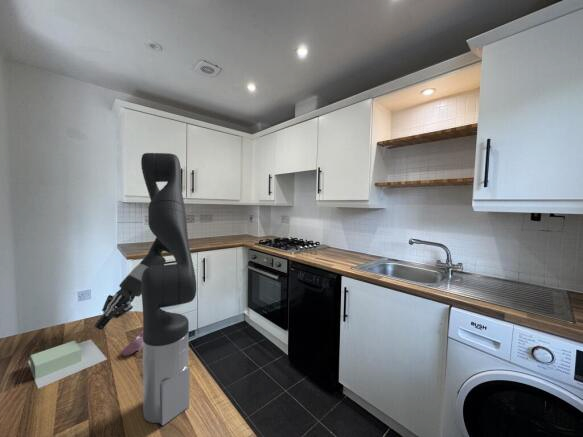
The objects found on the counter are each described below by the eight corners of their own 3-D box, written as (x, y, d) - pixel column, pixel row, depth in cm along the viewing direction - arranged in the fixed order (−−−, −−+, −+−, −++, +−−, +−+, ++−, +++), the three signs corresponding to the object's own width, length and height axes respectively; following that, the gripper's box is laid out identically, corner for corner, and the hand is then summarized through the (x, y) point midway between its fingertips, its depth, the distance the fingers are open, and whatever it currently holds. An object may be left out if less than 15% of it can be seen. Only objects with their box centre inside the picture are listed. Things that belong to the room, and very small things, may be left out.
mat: (107, 360, 69) (107, 359, 69) (37, 389, 58) (37, 388, 58) (90, 340, 78) (90, 339, 78) (27, 362, 67) (27, 361, 67)
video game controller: (132, 362, 71) (142, 343, 70) (119, 355, 71) (129, 335, 70) (152, 343, 80) (161, 325, 80) (140, 336, 80) (149, 319, 80)
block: (81, 349, 67) (34, 366, 60) (81, 361, 68) (34, 380, 60) (74, 340, 71) (29, 355, 64) (74, 351, 72) (30, 368, 64)
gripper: (121, 270, 84) (77, 317, 74) (141, 278, 77) (96, 330, 68) (137, 281, 89) (98, 326, 79) (157, 288, 82) (117, 339, 73)
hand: (97, 328), depth 73 cm, fingers closed
